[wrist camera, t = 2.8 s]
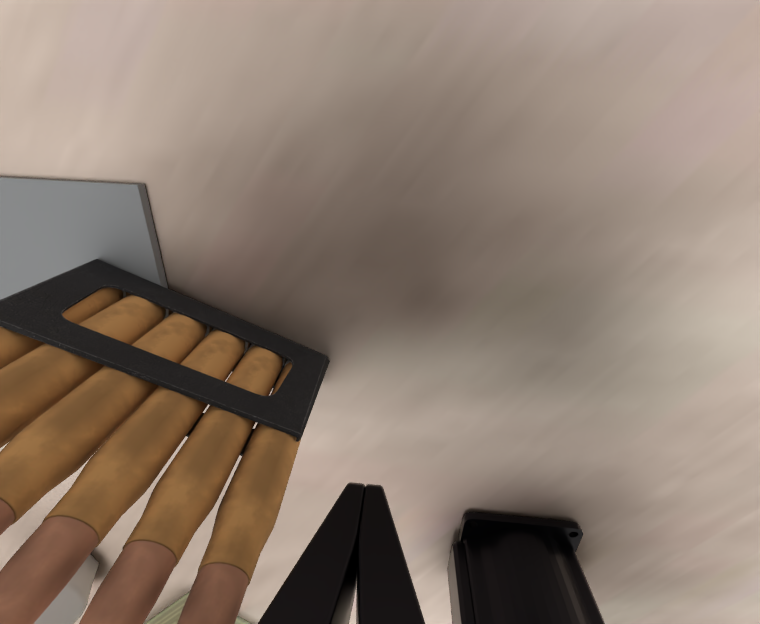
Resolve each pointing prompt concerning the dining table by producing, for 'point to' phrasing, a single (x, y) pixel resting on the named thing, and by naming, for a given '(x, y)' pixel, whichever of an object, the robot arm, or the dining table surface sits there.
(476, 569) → the robot arm
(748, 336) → the dining table surface
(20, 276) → the mat
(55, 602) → the salt shaker
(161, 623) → the hardcover book
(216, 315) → the ammunition clip
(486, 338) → the dining table surface
